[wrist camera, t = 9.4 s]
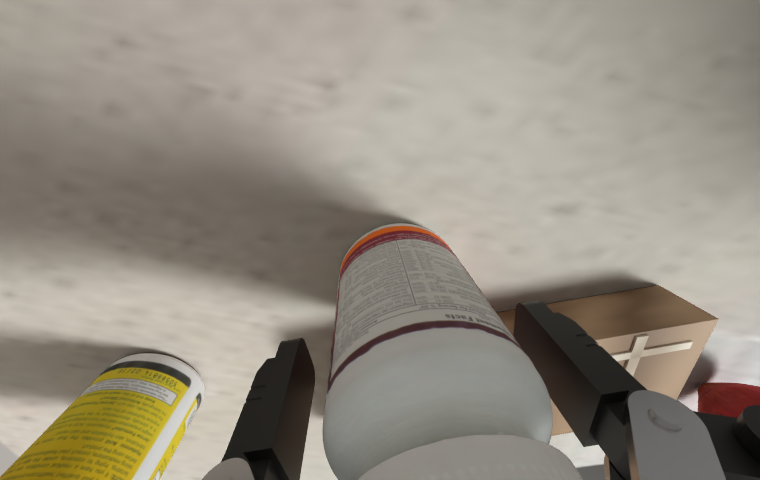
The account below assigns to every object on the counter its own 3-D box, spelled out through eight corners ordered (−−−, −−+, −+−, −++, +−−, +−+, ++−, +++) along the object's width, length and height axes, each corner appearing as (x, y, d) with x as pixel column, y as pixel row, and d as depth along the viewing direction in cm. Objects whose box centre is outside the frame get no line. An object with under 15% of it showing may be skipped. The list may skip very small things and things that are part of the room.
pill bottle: (430, 324, 16) (558, 682, 6) (328, 308, 15) (272, 714, 5) (470, 233, 14) (798, 569, 4) (353, 205, 13) (345, 583, 2)
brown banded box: (658, 285, 16) (721, 320, 14) (625, 374, 20) (670, 416, 17) (334, 340, 16) (330, 387, 13) (358, 420, 20) (358, 471, 17)
